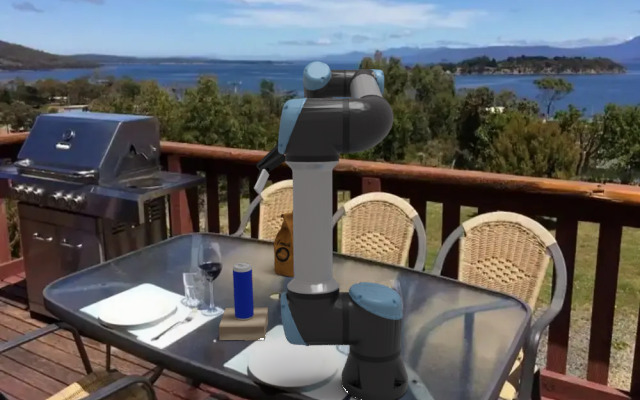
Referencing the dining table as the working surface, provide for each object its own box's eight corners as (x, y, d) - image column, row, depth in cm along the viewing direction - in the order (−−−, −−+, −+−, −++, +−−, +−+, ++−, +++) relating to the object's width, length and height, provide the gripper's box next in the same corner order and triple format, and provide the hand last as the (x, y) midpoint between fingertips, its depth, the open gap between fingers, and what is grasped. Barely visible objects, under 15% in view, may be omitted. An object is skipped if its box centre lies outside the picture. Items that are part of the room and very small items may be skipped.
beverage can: (257, 316, 157) (255, 265, 153) (242, 322, 153) (240, 270, 150) (246, 311, 160) (244, 260, 157) (231, 316, 157) (228, 265, 153)
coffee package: (269, 274, 199) (267, 213, 194) (288, 263, 210) (286, 205, 205) (294, 278, 195) (293, 216, 190) (311, 267, 205) (311, 208, 200)
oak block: (264, 340, 152) (264, 326, 151) (219, 340, 152) (218, 327, 151) (268, 320, 163) (267, 307, 163) (226, 320, 163) (225, 308, 162)
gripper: (349, 142, 159) (323, 206, 150) (274, 137, 171) (246, 196, 162) (340, 125, 153) (313, 190, 144) (263, 121, 165) (234, 181, 156)
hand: (277, 194), depth 153 cm, fingers open, 13 cm apart
